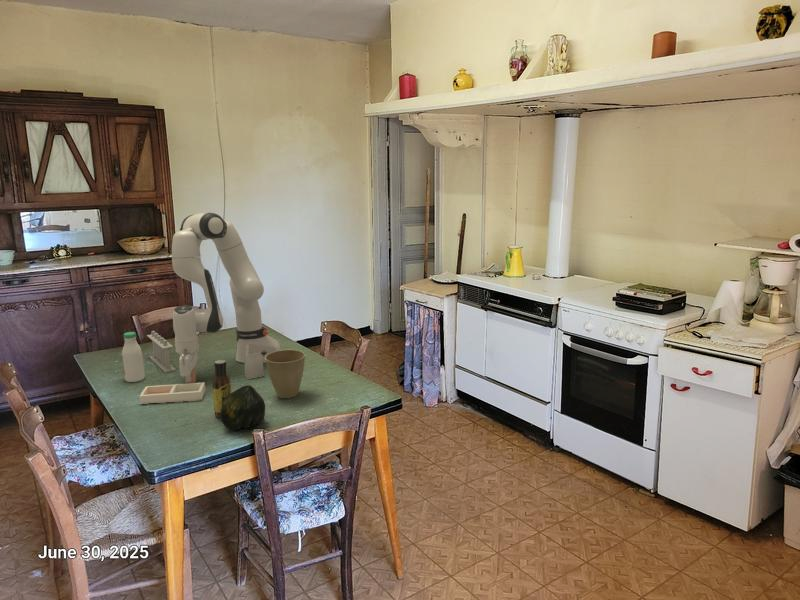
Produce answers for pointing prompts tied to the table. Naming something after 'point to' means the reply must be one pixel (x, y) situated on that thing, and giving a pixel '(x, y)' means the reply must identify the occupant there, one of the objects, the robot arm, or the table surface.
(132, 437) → the table surface
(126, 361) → the milk bottle
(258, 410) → the squash
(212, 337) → the table surface
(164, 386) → the sorting tray
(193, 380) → the brown egg
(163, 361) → the test tube rack
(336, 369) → the table surface
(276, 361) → the plant pot
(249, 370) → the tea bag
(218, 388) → the sauce bottle
